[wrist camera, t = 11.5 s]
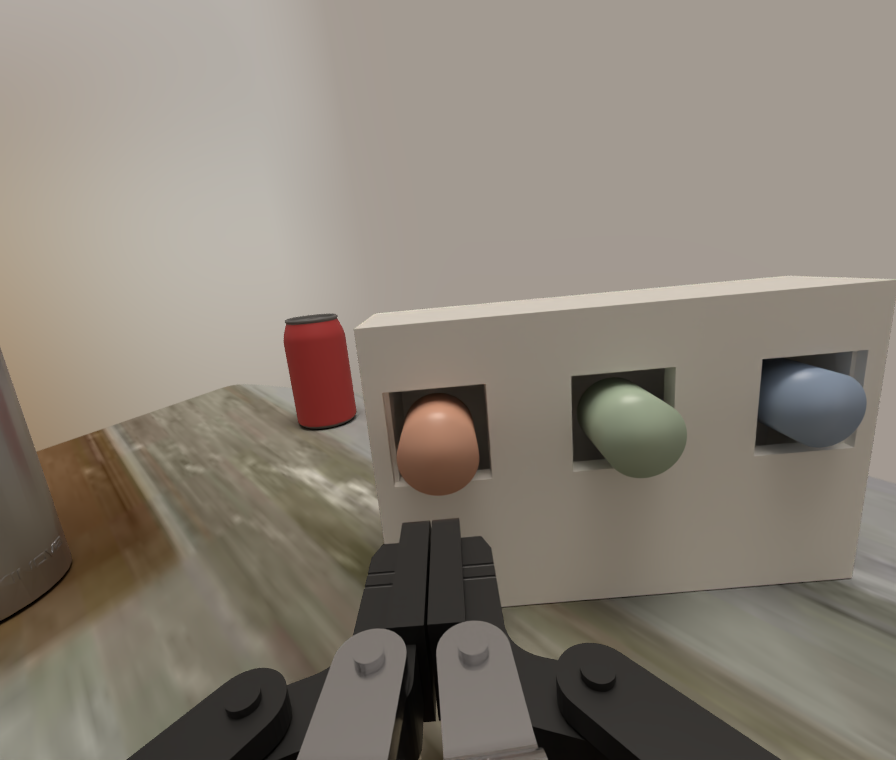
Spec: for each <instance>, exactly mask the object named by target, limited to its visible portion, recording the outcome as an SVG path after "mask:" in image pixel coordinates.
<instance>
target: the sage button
mask: <svg viewBox="0 0 896 760" xmlns="http://www.w3.org/2000/svg"><path fill="white" fill-rule="evenodd" d="M577 420H578V423H579V426H580V428H581V429H582V431H583V432H584V433H585V434H586V436H587V437H588V438H589V439H590V440H591V442H592V443H593V444H594V445H595V446H596V448H597V449H598V450H599V451H600V452H601V454H602V455H603V456H604V457H605V458H606V460H607V461H608V462H609V463H610V464H611V466H612V467H613V468H614V469H615V470H617V471H618V472H620V473H621V474H623V475H626V476H628V477H633V478H649V477H653V476H656V475H659V474H661V473H663V472H665V471H666V470H668V469H669V468H671V467H672V466H673V465H674V464H675V463H676V462H677V461H678V459H679V458H680V457H681V455H682V453H683V451H684V449H685V446H686V442H687V429H686V425H685V422H684V420H683V418H682V416H681V415H680V414H679V412H678V411H677V410H676V409H674V408H673V407H672V406H670V405H668V404H667V403H665V402H664V401H662V400H660V399H659V398H657V397H656V396H654V395H652V394H651V393H649V392H647V391H646V390H644V389H643V388H641V387H639V386H638V385H636V384H635V383H633V382H631V381H629V380H627V379H624V378H619V377H610V378H605V379H602V380H599V381H597V382H595V383H594V384H592V385H591V386H590V387H589V388H588V389H587V390H586V391H585V392H584V393H583V395H582V396H581V398H580V400H579V403H578V407H577Z"/></svg>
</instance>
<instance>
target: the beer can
mask: <svg viewBox="0 0 896 760" xmlns="http://www.w3.org/2000/svg"><path fill="white" fill-rule="evenodd" d="M285 323H286V327H285V332H284V347H285V352H286V357H287V363H288V368H289V374H290V379H291V385H292V390H293V396H294V401H295V407H296V412H297V418H298V422H299V424H300V425H302V426H304V427H306V428H310V429H324V428H331V427H335V426H339V425H342V424H344V423H346V422H348V421H350V420H351V419H352V418H353V417H354V416H355V414H356V405H355V398H354V392H353V385H352V378H351V371H350V365H349V358H348V351H347V345H346V338H345V333H344V330H343V328H342V326H341V325H340V322H339V321H338V319H337V315H336V314H317V315H308V316H302V317H295V318H290V319H287V320H285Z"/></svg>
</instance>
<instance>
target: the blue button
mask: <svg viewBox="0 0 896 760" xmlns="http://www.w3.org/2000/svg"><path fill="white" fill-rule="evenodd" d="M866 405H867V400H866V394H865V391H864V389H863V387H862V386H861V384H860V383H859V382H858V381H857V380H855V379H854V378H852V377H850V376H848V375H845V374H841V373H837V372H834V371H830V370H827V369H823V368H819V367H816V366H812V365H808V364H805V363H801V362H797V361H794V360H790V359H786V358H783V357H782V358H770V359H762V371H761V382H760V394H759V405H758V417H757V421H758V422H760V423H762V424H764V425H766V426H768V427H770V428H772V429H774V430H776V431H778V432H780V433H782V434H784V435H786V436H788V437H790V438H792V439H794V440H796V441H798V442H800V443H802V444H804V445H807V446H810V447H817V448H819V447H828V446H832V445H835V444H837V443H839V442H841V441H843V440H845V439H846V438H847V437H849V436H850V435H851V434H852V433H853V432H854V431H855V430H856V429H857V428H858V426H859V425H860V423H861V422H862V419H863V417H864V415H865V411H866Z"/></svg>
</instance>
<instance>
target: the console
mask: <svg viewBox="0 0 896 760" xmlns="http://www.w3.org/2000/svg"><path fill="white" fill-rule="evenodd" d="M895 300H896V279H871V278H841V277H810V276H809V277H808V276H780V277H769V278H759V279H748V280H736V281H725V282H715V283H704V284H692V285H681V286H671V287H659V288H649V289H639V290H627V291H617V292H605V293H594V294H583V295H572V296H562V297H551V298H539V299H528V300H517V301H507V302H495V303H485V304H474V305H463V306H452V307H441V308H431V309H419V310H408V311H397V312H386V313H375V314H374V315H373V316H371V317H370V318H368V319H367V320H366V321H364V322H363V323H361V324H360V325H359V326H357V327H356V328H354V335H355V341H356V349H357V356H358V363H359V370H360V377H361V384H362V391H363V398H364V405H365V412H366V419H367V426H368V433H369V440H370V447H371V454H372V461H373V468H374V475H375V482H376V489H377V496H378V503H379V510H380V517H381V524H382V531H383V538H384V544H392V543H399V540H400V533H401V527H402V523H405V522H416V521H428V520H430V522H431V528H432V520H439V519H450V518H459V520H460V530H461V538H462V537H474V536H482V538H483V539H484V540H485V541H486V542H487V543H488V544H489V546H490V547H491V549H492V555H493V561H494V567H495V573H496V579H497V585H498V590H499V596H500V602H501V607H506V606H518V605H530V604H542V603H554V602H566V601H578V600H591V599H603V598H615V597H627V596H639V595H651V594H663V593H675V592H687V591H700V590H712V589H724V588H736V587H748V586H760V585H772V584H784V583H797V582H809V581H821V580H833V579H845V578H852V574H853V567H854V561H855V555H856V548H857V542H858V536H859V529H860V523H861V517H862V510H863V504H864V498H865V491H866V485H867V479H868V472H869V466H870V459H871V453H872V447H873V440H874V434H875V427H876V421H877V415H878V409H879V402H880V396H881V390H882V383H883V377H884V371H885V364H886V358H887V352H888V345H889V339H890V333H891V326H892V320H893V313H894V307H895ZM782 357H783V358H786V359H790V360H794V361H797V362H801V363H805V364H808V365H812V366H816V367H819V368H823V369H827V370H830V371H834V372H837V373H841V374H845V375H848V376H850V377H852V378H854V379H855V380H857V381H858V382H859V383H860V384H861V386H862V387H863V389H864V391H865V394H866V400H867V405H866V411H865V415H864V417H863V419H862V422H861V423H860V425H859V426H858V428H857V429H856V430H855V431H854V432H853V433H852V434H851V435H850V436H849V437H847V438H846V439H845V440H843V441H841V442H839V443H837V444H835V445H832V446H828V447H819V448H817V447H810V446H807V445H804V444H802V443H800V442H798V441H796V440H794V439H792V438H790V437H788V436H786V435H784V434H782V433H780V432H778V431H776V430H774V429H772V428H770V427H768V426H766V425H764V424H762V423H760V422H758V421H757V417H758V405H759V394H760V382H761V371H762V359H770V358H782ZM610 377H619V378H624V379H627V380H629V381H631V382H633V383H635V384H636V385H638V386H639V387H641V388H643V389H644V390H646V391H647V392H649V393H651V394H652V395H654V396H656V397H657V398H659V399H660V400H662V401H664V402H665V403H667V404H668V405H670V406H672V407H673V408H674V409H676V410H677V411H678V412H679V414H680V415H681V416H682V418H683V420H684V422H685V425H686V429H687V442H686V446H685V449H684V451H683V453H682V455H681V457H680V458H679V459H678V461H677V462H676V463H675V464H674V465H673V466H672V467H671V468H669V469H668V470H666V471H665V472H663V473H661V474H659V475H656V476H653V477H649V478H633V477H628V476H626V475H623V474H621V473H620V472H618V471H617V470H615V469H614V468H613V467H612V466H611V464H610V463H609V462H608V461H607V460H606V458H605V457H604V456H603V455H602V454H601V452H600V451H599V450H598V449H597V448H596V446H595V445H594V444H593V443H592V442H591V440H590V439H589V438H588V437H587V436H586V434H585V433H584V432H583V431H582V429H581V428H580V426H579V423H578V420H577V407H578V403H579V400H580V398H581V396H582V395H583V393H584V392H585V391H586V390H587V389H588V388H589V387H590V386H591V385H592V384H594V383H595V382H597V381H599V380H602V379H605V378H610ZM432 393H446V394H450V395H453V396H455V397H457V398H458V399H460V400H461V401H462V402H463V403H464V404H465V405H466V406H467V407H468V409H469V410H470V412H471V415H472V418H473V423H474V428H475V434H476V439H477V444H478V450H479V465H478V469H477V471H476V474H475V475H474V477H473V479H472V480H471V481H470V482H469V483H468V484H467V485H466V486H465V487H464V488H462V489H461V490H459V491H457V492H455V493H452V494H448V495H442V496H434V495H428V494H424V493H421V492H419V491H417V490H415V489H414V488H412V487H411V486H410V485H409V484H408V483H407V482H406V481H405V480H404V478H403V477H402V475H401V474H400V472H399V469H398V465H397V450H398V445H399V441H400V437H401V433H402V429H403V425H404V421H405V417H406V414H407V412H408V410H409V408H410V407H411V406H412V404H413V403H414V402H415V401H417V400H418V399H419V398H421V397H423V396H425V395H428V394H432Z"/></svg>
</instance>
